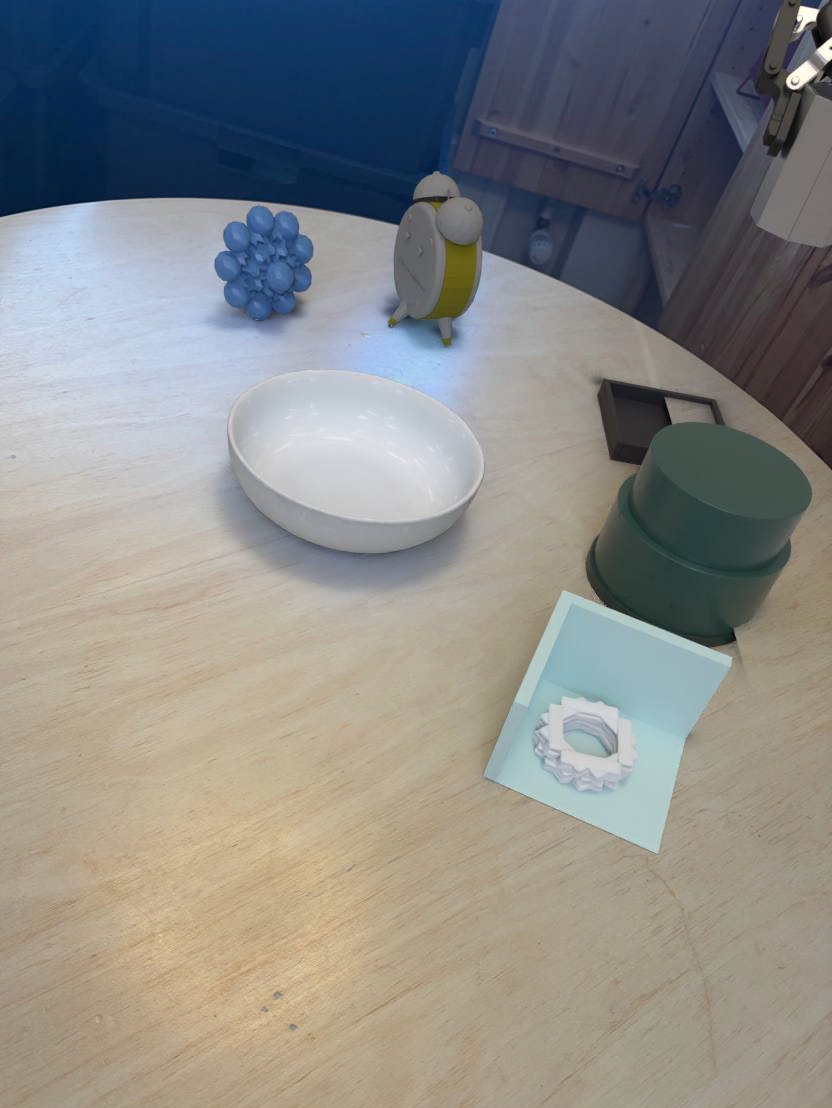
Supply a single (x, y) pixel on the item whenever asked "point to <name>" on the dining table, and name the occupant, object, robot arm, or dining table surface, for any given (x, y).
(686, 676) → the l-shaped corner panel
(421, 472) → the serving bowl
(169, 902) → the dining table surface
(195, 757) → the dining table surface
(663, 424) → the tray
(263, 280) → the blue knobbed cluster
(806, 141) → the cup
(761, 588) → the green stepped cylinder
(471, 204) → the alarm clock
